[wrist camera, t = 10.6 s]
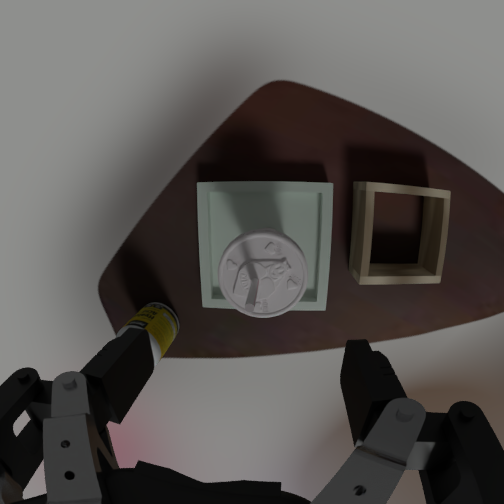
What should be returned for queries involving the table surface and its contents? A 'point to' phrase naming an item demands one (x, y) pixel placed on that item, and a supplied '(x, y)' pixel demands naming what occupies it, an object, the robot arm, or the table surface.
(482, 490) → the robot arm
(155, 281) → the table surface
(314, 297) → the tray
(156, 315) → the supplement bottle
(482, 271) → the table surface
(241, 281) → the smoothie
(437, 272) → the holder
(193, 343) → the table surface
